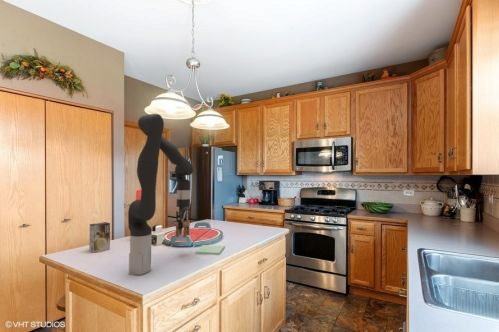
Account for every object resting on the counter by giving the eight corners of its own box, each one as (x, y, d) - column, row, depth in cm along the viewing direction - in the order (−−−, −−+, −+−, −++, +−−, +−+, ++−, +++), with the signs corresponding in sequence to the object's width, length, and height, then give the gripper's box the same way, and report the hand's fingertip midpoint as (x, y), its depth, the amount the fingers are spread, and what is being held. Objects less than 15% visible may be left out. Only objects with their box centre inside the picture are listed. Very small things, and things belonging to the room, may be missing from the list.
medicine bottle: (148, 244, 162) (149, 225, 163) (157, 241, 169) (157, 224, 169) (156, 245, 159) (156, 227, 160) (165, 243, 165) (165, 225, 166)
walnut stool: (185, 237, 137) (186, 222, 137) (175, 236, 138) (175, 221, 138) (189, 234, 143) (189, 220, 143) (179, 234, 143) (179, 220, 144)
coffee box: (105, 247, 155) (105, 221, 155) (110, 249, 151) (110, 222, 152) (88, 251, 148) (89, 224, 148) (93, 253, 144) (94, 225, 144)
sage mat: (219, 254, 142) (219, 252, 142) (195, 253, 143) (195, 251, 143) (224, 247, 155) (224, 245, 155) (202, 246, 157) (202, 245, 157)
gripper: (185, 199, 134) (184, 231, 133) (194, 197, 148) (193, 226, 147) (171, 199, 134) (170, 230, 134) (182, 197, 149) (181, 225, 148)
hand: (182, 228), depth 140 cm, fingers closed on walnut stool, 6 cm apart
